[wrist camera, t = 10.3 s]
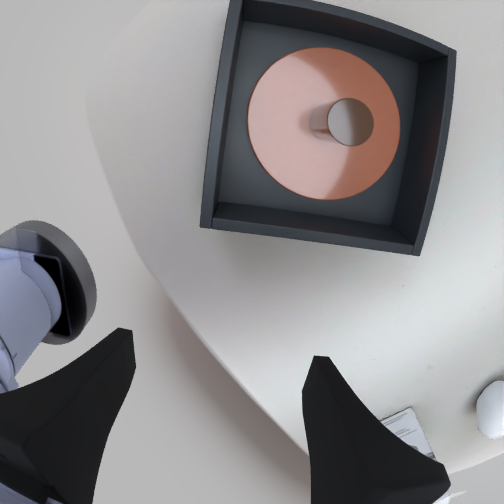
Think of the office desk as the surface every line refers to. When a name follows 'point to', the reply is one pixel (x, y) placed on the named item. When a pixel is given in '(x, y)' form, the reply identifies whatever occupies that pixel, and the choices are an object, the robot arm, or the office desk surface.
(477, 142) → the office desk surface
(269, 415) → the office desk surface
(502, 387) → the plain white apple
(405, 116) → the charcoal square tray
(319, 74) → the knobbed copper disc
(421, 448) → the ink box
